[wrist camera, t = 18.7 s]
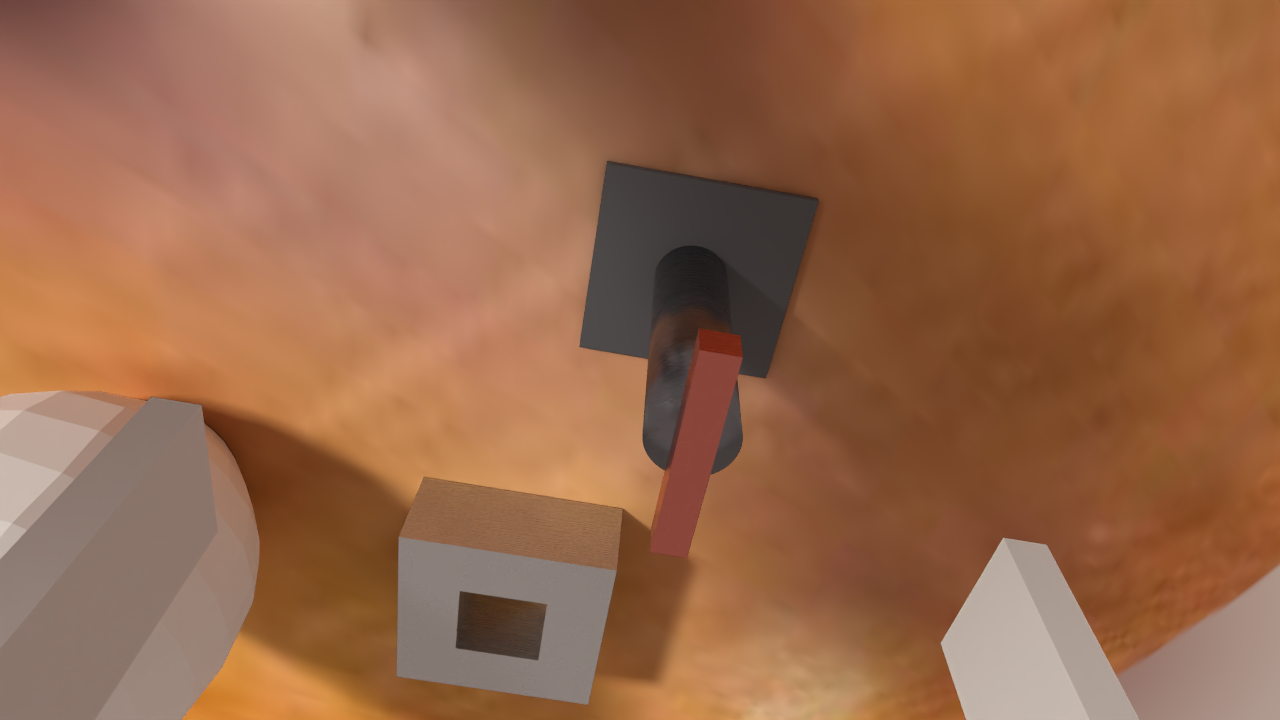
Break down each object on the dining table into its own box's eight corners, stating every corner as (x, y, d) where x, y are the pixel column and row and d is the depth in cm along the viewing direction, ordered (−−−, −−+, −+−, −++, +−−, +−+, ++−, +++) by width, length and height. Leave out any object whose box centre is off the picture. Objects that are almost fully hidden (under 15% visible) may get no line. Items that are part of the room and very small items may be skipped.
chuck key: (672, 186, 38) (665, 344, 26) (747, 200, 38) (776, 363, 26) (639, 349, 43) (621, 547, 31) (707, 360, 43) (715, 562, 31)
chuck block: (419, 613, 55) (396, 676, 51) (423, 477, 49) (398, 536, 44) (595, 639, 56) (588, 704, 51) (622, 508, 49) (616, 570, 45)
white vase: (131, 265, 42) (-433, 684, 21) (375, 500, 50) (144, 980, 29) (-71, 418, 48) (-670, 864, 27) (174, 606, 56) (-140, 1068, 35)
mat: (580, 343, 43) (579, 347, 43) (607, 161, 38) (606, 163, 38) (765, 374, 44) (765, 378, 43) (817, 198, 38) (818, 201, 38)
